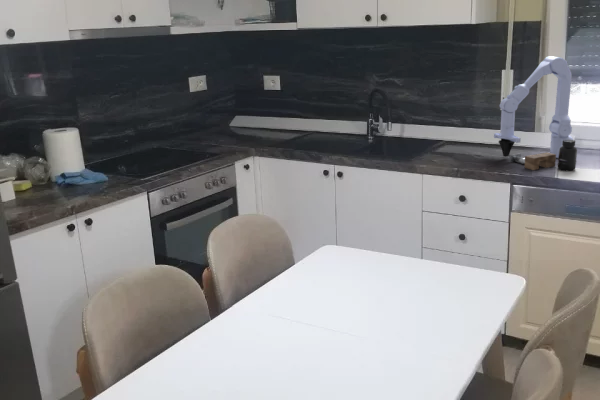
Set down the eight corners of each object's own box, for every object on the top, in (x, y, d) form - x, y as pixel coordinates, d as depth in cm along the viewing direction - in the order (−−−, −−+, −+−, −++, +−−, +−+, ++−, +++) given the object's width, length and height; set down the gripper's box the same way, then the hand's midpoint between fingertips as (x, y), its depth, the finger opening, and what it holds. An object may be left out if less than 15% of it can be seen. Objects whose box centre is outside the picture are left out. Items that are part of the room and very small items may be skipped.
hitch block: (546, 163, 266) (546, 152, 265) (555, 166, 262) (555, 154, 260) (524, 167, 261) (525, 156, 260) (533, 170, 257) (534, 158, 256)
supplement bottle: (557, 170, 254) (559, 142, 251) (557, 167, 260) (559, 138, 257) (575, 171, 252) (578, 142, 248) (575, 167, 258) (577, 139, 254)
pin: (509, 162, 272) (509, 155, 271) (518, 160, 274) (519, 153, 274) (524, 166, 264) (524, 158, 264) (534, 164, 267) (534, 156, 266)
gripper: (489, 124, 278) (487, 154, 282) (512, 129, 266) (510, 160, 269) (501, 122, 281) (499, 152, 285) (524, 127, 268) (523, 158, 272)
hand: (506, 156), depth 277 cm, fingers closed
